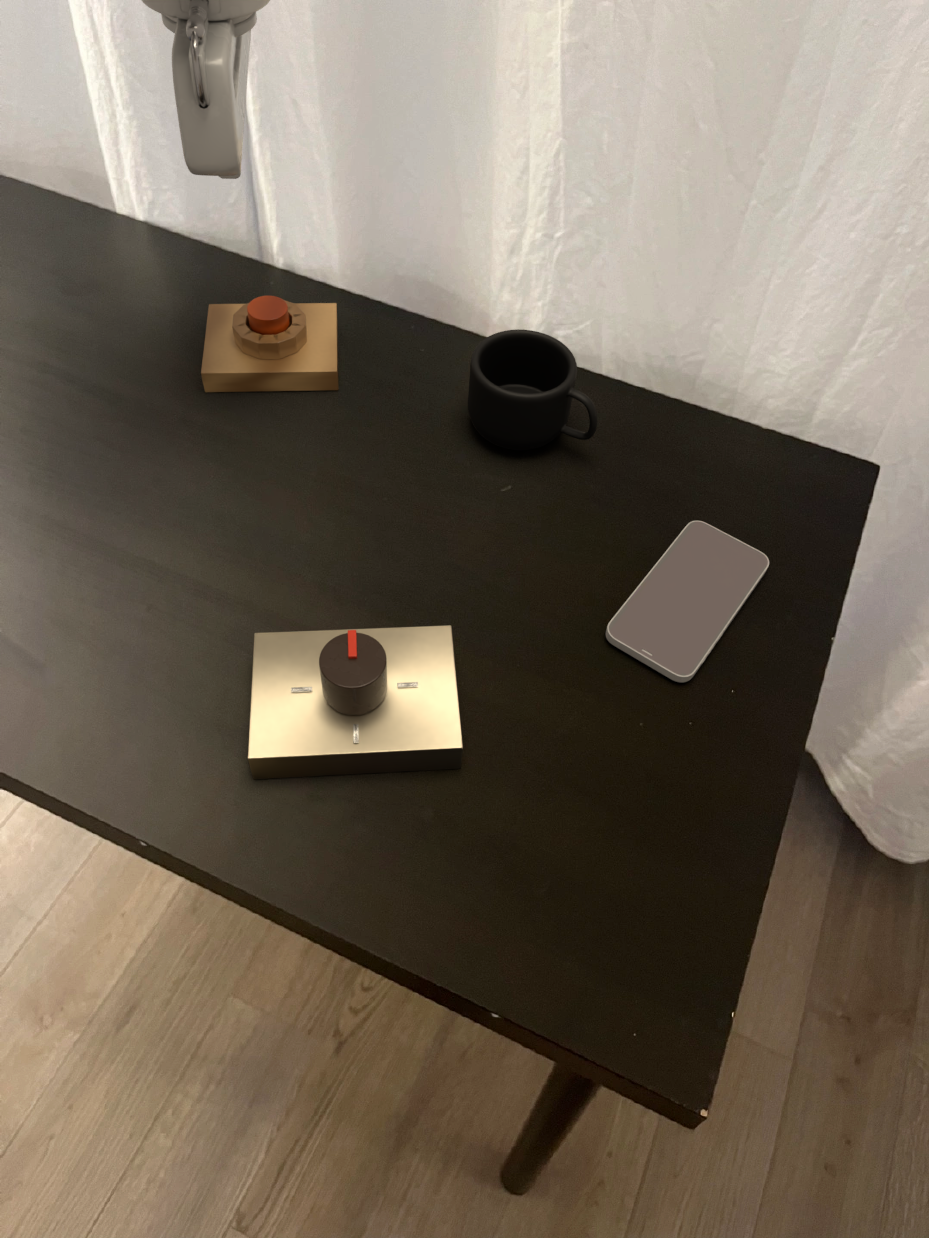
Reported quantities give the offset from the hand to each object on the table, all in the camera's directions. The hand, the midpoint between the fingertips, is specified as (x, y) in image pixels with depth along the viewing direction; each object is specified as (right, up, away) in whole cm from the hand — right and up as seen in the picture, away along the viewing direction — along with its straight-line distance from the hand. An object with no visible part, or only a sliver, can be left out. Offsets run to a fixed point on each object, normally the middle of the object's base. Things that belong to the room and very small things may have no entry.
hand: (230, 169), depth 74 cm
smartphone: (+36, -33, +1) cm, 49 cm away
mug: (+24, -18, +12) cm, 32 cm away
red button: (0, -8, +13) cm, 15 cm away
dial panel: (+10, -41, -6) cm, 43 cm away
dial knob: (+11, -39, -8) cm, 42 cm away
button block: (0, -10, +16) cm, 19 cm away
